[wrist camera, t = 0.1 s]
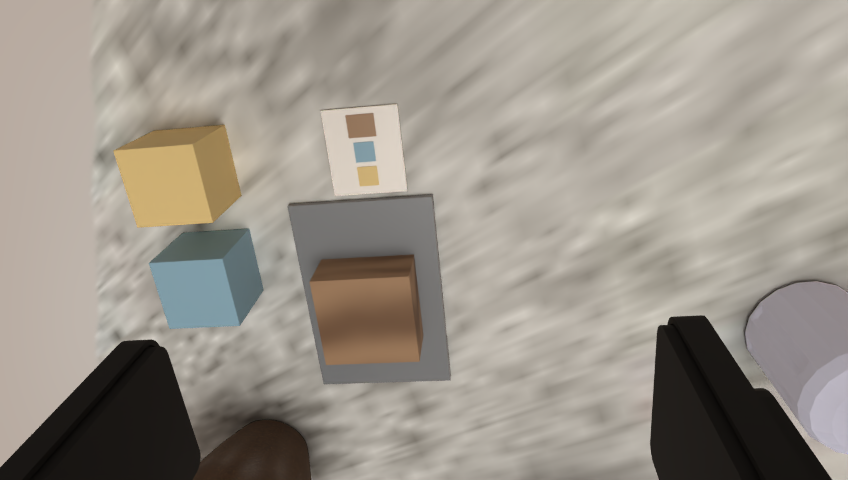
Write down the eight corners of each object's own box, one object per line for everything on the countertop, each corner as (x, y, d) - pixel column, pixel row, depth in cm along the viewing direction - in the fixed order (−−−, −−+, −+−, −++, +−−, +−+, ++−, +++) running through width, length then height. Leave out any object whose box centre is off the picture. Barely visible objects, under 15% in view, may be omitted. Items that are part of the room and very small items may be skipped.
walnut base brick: (321, 259, 51) (309, 281, 48) (413, 254, 50) (409, 276, 47) (336, 338, 54) (326, 365, 51) (423, 335, 54) (419, 361, 50)
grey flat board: (289, 203, 50) (287, 206, 50) (432, 194, 49) (432, 196, 48) (325, 380, 57) (323, 384, 57) (450, 376, 56) (450, 380, 55)
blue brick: (183, 232, 52) (148, 263, 47) (249, 228, 51) (222, 258, 46) (200, 292, 55) (169, 328, 49) (263, 289, 54) (239, 325, 48)
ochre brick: (154, 130, 49) (113, 150, 43) (225, 124, 48) (192, 144, 42) (174, 200, 51) (137, 227, 45) (241, 195, 50) (212, 222, 45)
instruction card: (321, 110, 47) (320, 111, 46) (397, 103, 46) (396, 104, 46) (335, 195, 49) (334, 196, 49) (407, 190, 49) (407, 191, 48)
